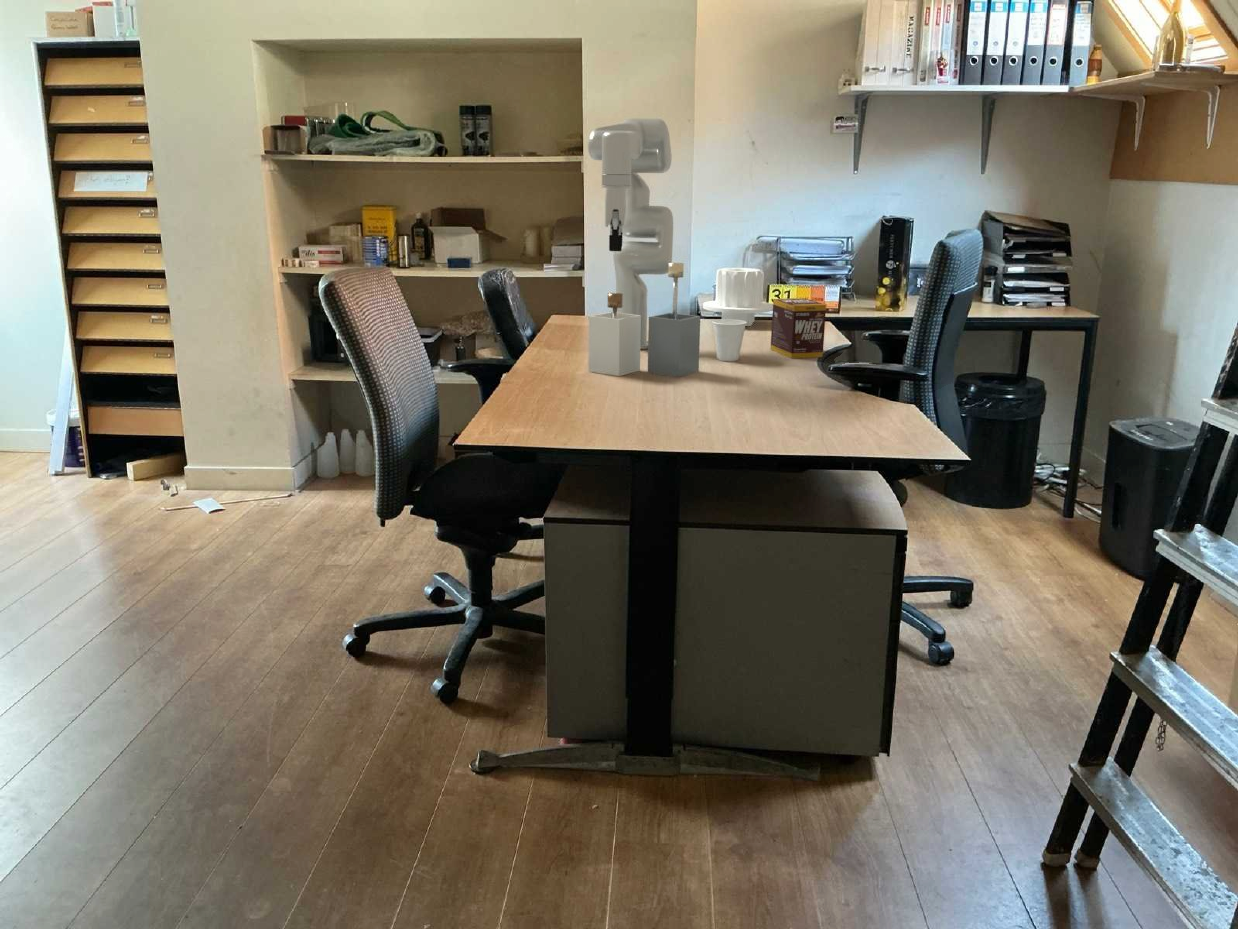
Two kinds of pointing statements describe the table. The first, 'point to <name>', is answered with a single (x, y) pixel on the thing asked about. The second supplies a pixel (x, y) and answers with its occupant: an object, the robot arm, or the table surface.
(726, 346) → the cup
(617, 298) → the bronze knobbed rod
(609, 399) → the table surface
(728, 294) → the flanged gear
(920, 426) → the table surface
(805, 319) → the supplement box
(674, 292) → the brass knobbed plunger
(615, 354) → the white open box
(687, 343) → the grey open box
